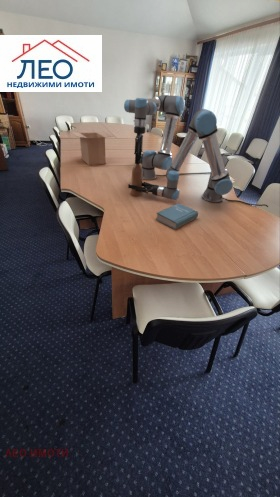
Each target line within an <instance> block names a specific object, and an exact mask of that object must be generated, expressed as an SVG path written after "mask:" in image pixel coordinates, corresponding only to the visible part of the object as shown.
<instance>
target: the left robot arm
mask: <svg viewBox="0 0 280 497" xmlns="http://www.w3.org/2000/svg"><path fill="white" fill-rule="evenodd" d="M123 109H124V111H125V112H126V113H129V114H134V120H133V122H134V124H133V126H134V127H133V133H134V134H136V136H135V137H134V152H133V155H134V165H136V164H139V159H141V156H142V154H143V156H142V157H143V158H142V163H141V167H142V168H143V179H142V180H146V181H154V180H156V178H157V177H167V175H166V174H163V175H161V174H156V169H160V170H162V171H167V170H168V169H169V168H170V166H171V164H172V162H173V160H174V158H173V156H172V153H171V149H172V145H173V141H174V136H175V131H176V126H177V121H178V119H180V116H181V115H183V114H184V112H185V99H184V98H183V97H182V96H179V95H171V94H170V95H169V94H162V95H157V96H153V97H151V98H145V97H136V98H135V99H126V100H124V104H123ZM156 112H160V113H165V114H164V115H165V117H166V119H165V123H164V129H163V134H162V138H161V144H160V148H159V150H153V149H151V150H150V149H149V150H145V151H144V150H143V143H144V134H145V133H146V126H147V116H153V115H154V114H156ZM210 172H211V171H210ZM210 172H209V171H208V172H207V174H210ZM201 174H205V172H187V173H179V176H180V175H181V176H182V175H201Z"/></svg>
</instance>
